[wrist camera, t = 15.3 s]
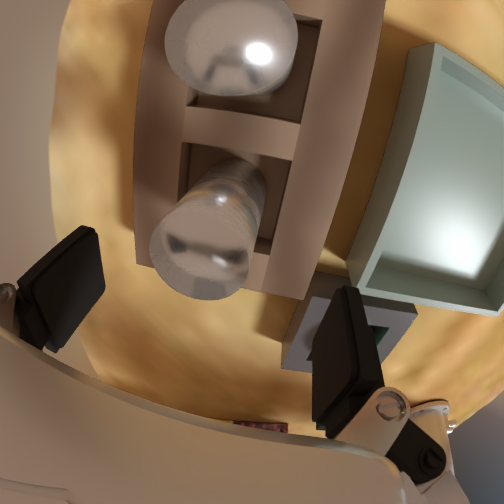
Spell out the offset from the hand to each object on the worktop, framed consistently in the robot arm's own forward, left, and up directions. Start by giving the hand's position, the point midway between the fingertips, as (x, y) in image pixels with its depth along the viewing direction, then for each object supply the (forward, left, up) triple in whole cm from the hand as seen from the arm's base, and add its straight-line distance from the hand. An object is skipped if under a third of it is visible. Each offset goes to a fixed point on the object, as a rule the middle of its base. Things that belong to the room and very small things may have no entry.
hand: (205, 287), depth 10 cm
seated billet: (+1, -9, -9) cm, 12 cm away
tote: (-16, -4, -10) cm, 20 cm away
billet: (+1, -1, -9) cm, 9 cm away
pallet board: (+1, -5, -10) cm, 11 cm away
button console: (-10, +9, -10) cm, 17 cm away
